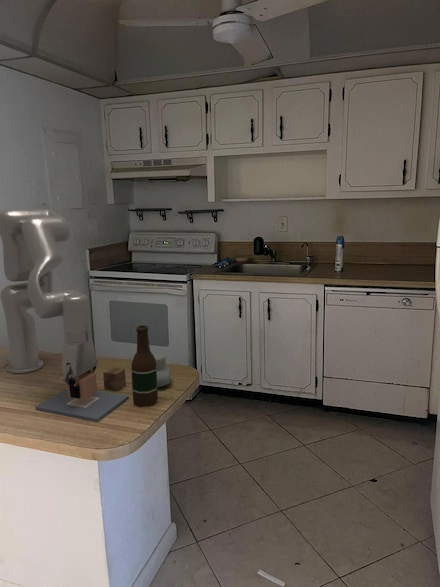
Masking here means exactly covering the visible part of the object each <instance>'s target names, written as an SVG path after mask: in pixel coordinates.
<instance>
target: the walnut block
mask: <svg viewBox="0 0 440 587" xmlns="http://www.w3.org/2000/svg"><path fill="white" fill-rule="evenodd" d="M102 374H103V386H104V390H107V391H112V392H119V391H120V390H122V389H124V388H125V387H126V386H127V382H126V369H125V368H123V367H122V368H121V367H113V366H111V367H110V368H108V369H106V370H104V371H103V373H102Z"/></svg>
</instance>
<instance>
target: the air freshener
mask: <svg viewBox="0 0 440 587" xmlns="http://www.w3.org/2000/svg"><path fill="white" fill-rule="evenodd" d="M152 354H153V355H154V357H155V360H156V370H157V389H158V388H162V387H165V386H167V385H169V384H170V383H171V376H170V375H171V372H170V369H171V368H170V367H168V366H167V365H166V356H165V354H163V353H152Z"/></svg>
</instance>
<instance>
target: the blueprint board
mask: <svg viewBox="0 0 440 587" xmlns="http://www.w3.org/2000/svg"><path fill="white" fill-rule="evenodd" d="M129 397H130V396H129V395H126V394H121V393H113V392H109V391H104V390H103V391H102V390H97V393H95V394H93V395H92V396H90V397H89V398H87V399H86V400H81V399H76V398H70V397H68V389H67V388H65V389H63V390H62V391H60V392H58V393H57V394H55V395H53V396H50V398H47V399H46V400H44V401H43V402H41V403H39V404H37V405H36V406H35V407H34V409H35V411H40V412H43V413H49V414H54V415H59V416H65V417H69V418H74V419H79V420H85V421H89V422H94V423H99V422H100V421H101V420H103V419H104V418H106V417H107V416H108V415H110V413H112V412H113V411H116V409H117V408H118V407H120V406H122V405H123V404H124V403H125V402H127V401H128V400H129V399H130V398H129Z"/></svg>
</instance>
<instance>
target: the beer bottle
mask: <svg viewBox="0 0 440 587" xmlns="http://www.w3.org/2000/svg"><path fill="white" fill-rule="evenodd" d="M135 331H136V333H137V334H136V351H135V354H134V355H133V358H132V362H131V386H132V400H133V401H132V402H133V404H134V405H136V406H138V407H140V408H141V407H144V408H145V407H151V406H153V405H155V404H157V402H158V388H157V370H156V360H155V357H154V355H153V354H154V353H152V352H151V348H150V342H149V341H150V340H149V332H148V331H149V326H147V325H138V326H136V329H135Z"/></svg>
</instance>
